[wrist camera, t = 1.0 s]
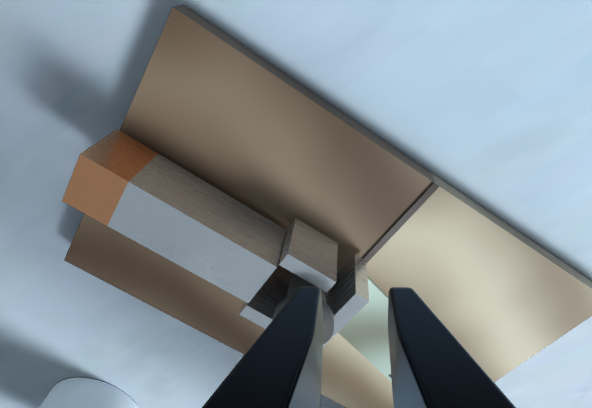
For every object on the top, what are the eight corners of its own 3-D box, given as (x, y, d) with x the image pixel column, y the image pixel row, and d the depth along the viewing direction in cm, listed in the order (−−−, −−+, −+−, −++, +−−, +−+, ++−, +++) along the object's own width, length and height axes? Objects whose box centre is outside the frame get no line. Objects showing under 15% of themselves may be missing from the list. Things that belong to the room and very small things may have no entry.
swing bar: (366, 260, 20) (369, 301, 18) (318, 311, 22) (314, 355, 20) (123, 113, 18) (87, 136, 15) (93, 185, 20) (56, 215, 17)
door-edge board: (406, 423, 28) (418, 514, 23) (76, 247, 24) (8, 316, 19) (598, 286, 21) (671, 376, 17) (183, 5, 17) (119, 17, 12)
